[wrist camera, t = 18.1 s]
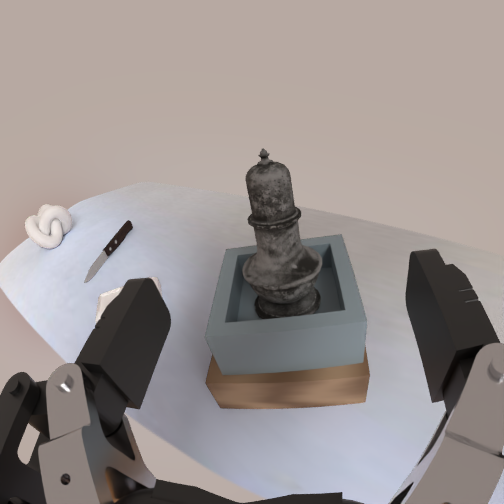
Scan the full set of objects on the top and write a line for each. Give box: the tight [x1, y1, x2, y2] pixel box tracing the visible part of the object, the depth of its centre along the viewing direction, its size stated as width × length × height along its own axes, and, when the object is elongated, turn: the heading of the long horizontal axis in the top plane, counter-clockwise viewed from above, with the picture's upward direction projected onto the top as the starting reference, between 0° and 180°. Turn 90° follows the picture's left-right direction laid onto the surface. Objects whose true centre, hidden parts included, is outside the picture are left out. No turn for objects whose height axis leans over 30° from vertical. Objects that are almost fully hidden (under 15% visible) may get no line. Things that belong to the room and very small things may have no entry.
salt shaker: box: [242, 149, 322, 319], centre depth 22 cm, size 6×6×12 cm
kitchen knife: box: [84, 220, 133, 283], centre depth 52 cm, size 18×1×2 cm, turn 173°
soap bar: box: [95, 277, 162, 324], centre depth 38 cm, size 5×9×3 cm, turn 108°
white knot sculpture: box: [25, 204, 72, 249], centre depth 62 cm, size 11×12×9 cm
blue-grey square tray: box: [205, 234, 367, 375], centre depth 25 cm, size 10×10×4 cm
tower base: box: [205, 347, 370, 409], centre depth 27 cm, size 12×12×4 cm
